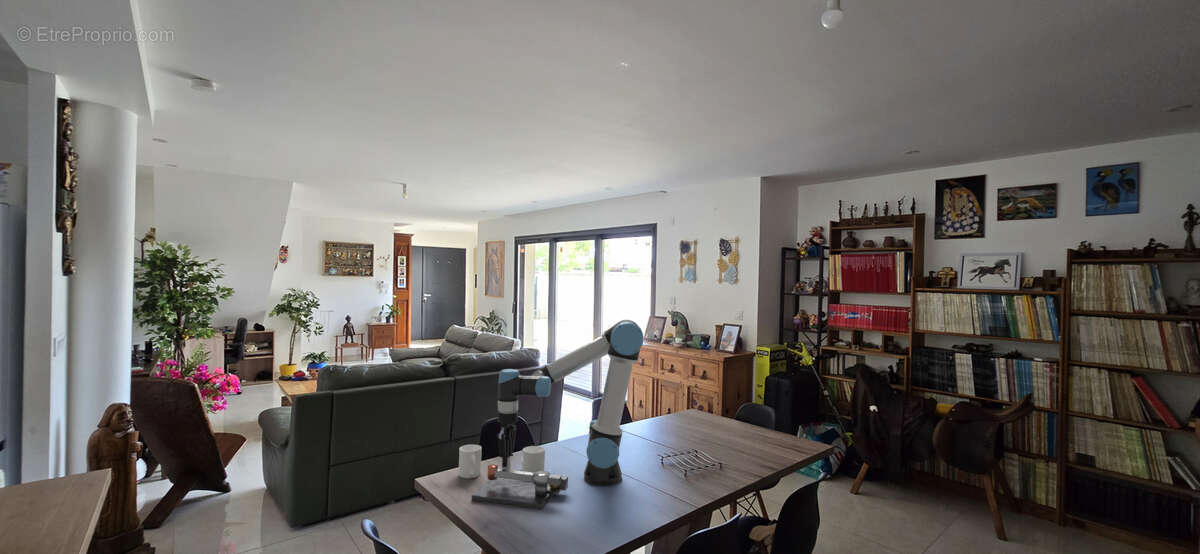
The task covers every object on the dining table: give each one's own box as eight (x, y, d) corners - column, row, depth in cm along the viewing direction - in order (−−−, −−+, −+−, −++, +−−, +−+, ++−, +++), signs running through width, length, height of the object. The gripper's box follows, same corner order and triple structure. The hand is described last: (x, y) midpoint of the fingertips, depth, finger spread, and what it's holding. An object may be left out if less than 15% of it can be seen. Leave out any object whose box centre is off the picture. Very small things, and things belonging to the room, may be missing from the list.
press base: (567, 492, 182) (567, 476, 182) (553, 511, 166) (554, 493, 166) (491, 483, 189) (492, 467, 189) (471, 500, 173) (472, 483, 173)
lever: (562, 483, 177) (562, 471, 177) (557, 489, 171) (557, 477, 171) (491, 474, 183) (491, 462, 183) (484, 480, 178) (484, 468, 178)
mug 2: (548, 473, 200) (549, 450, 200) (529, 478, 194) (530, 454, 195) (532, 464, 209) (533, 442, 210) (514, 469, 204) (514, 446, 204)
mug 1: (462, 483, 188) (463, 455, 188) (456, 472, 198) (457, 446, 199) (485, 480, 192) (486, 452, 192) (477, 469, 202) (478, 443, 203)
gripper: (506, 406, 191) (504, 467, 191) (490, 414, 179) (488, 479, 178) (523, 407, 190) (522, 469, 189) (509, 416, 177) (507, 482, 177)
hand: (505, 474), depth 184 cm, fingers closed
